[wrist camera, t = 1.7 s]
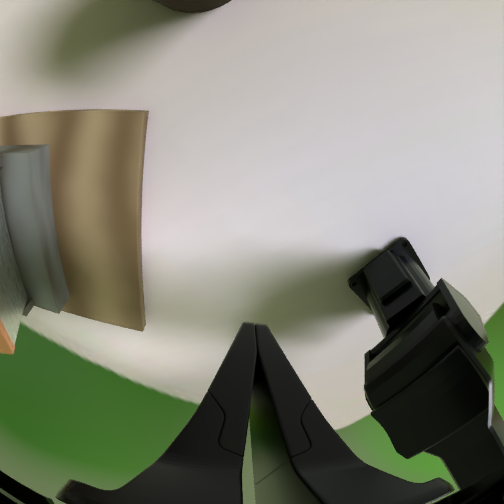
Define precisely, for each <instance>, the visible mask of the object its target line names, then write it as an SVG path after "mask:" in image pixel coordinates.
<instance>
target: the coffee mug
mask: <svg viewBox="0 0 504 504" xmlns="http://www.w3.org/2000/svg"><path fill="white" fill-rule="evenodd" d="M153 1H155V2H158V3H160V4H162V5H164V6H166V7H168V8H171V9H173V10H176V11H181V12H191V13H193V12H203V11H208V10H212V9H215V8H217V7H220V6H222V5H224V4H226V3H228V2H230V1H231V0H153Z"/></svg>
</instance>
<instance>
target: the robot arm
mask: <svg viewBox="0 0 504 504" xmlns="http://www.w3.org/2000/svg"><path fill="white" fill-rule="evenodd" d="M404 242H405V244H404V245H402V244H403V243H404ZM355 281H356V282H355ZM353 282H355V283H353ZM348 284H349V286H350V288H351V289H352V290H353V291H354V292H355V293H356V294H357V295H358V296H359V297H360V298H361V299H362V300H363V302H364V303H365V304H366V305H367V306H368V307H369V308H370V309H371V310H372V312H373V314H374V316H375V318H376V321H377V323H378V325H379V328H380V330H381V332H382V335H383V337H384V339H383V340H382V341H381V342H380V343H378V344H377V345H376V346H375V347H374V348H373V349H372V350H369V351H368V352H367V353H365V384H364V391H365V397H366V401H367V402H368V405H369V406H370V408H371V410H372V412H371V416H372V417H373V418H374V419H376V420H377V421H378V422H379V423H380V424H381V426H382V427H383V428H384V430H385V431H386V432H387V434H388V436H389V437H390V440H391V442H392V444H393V446H394V448H395V450H396V452H397V453H399V454H400V455H402V456H403V457H405V458H406V459H410V458H412V457H414V456H415V455H417V454H419V453H421V452H425V453H428V454H431V455H434V456H437V457H439V458H440V459H441V460H442V462H443V463H444V465H445V466H446V468H447V470H448V471H449V473H450V475H451V476H452V478H453V480H454V481H455V483H456V485H457V487H458V488H459V491H457V492H455V493H453V494H451V495H449V496H447V497H445V498H443V499H440V500H438V501H436V502H434V503H432V501H435V500H437V499H439V498H441V497H443V496H445V495H447V494H449V493H451V492H452V491H454V488H453V486H452V485H451V484H450V483H449V482H447V481H445V480H443V479H441V478H436V479H433V480H431V481H428V482H425V483H413V482H409V481H406V480H404V479H401V478H398V477H396V476H393V475H391V474H388V473H386V472H383V471H381V470H379V469H377V468H374V467H372V466H370V465H368V464H366V463H364V462H363V461H362V460H360V459H359V458H358V457H357V456H356V455H355V454H354V453H353V452H352V451H351V450H350V448H349V447H348V446H347V445H346V444H345V442H344V441H343V440H342V439H341V438H340V437H339V435H338V434H337V433H336V432H335V431H334V429H333V428H332V427H331V426H330V424H329V423H328V422H327V420H326V419H325V418H324V416H323V415H322V413H321V412H320V410H319V409H318V407H317V406H316V404H315V403H314V401H313V400H311V396H310V395H309V393H308V392H307V390H306V388H305V387H304V385H303V384H302V382H301V380H300V379H299V377H298V376H297V374H296V372H295V371H294V369H293V367H292V366H291V364H290V363H289V361H288V359H287V358H286V356H285V354H284V353H283V351H282V349H281V348H280V346H279V344H278V343H277V341H276V339H275V338H274V336H273V334H272V333H271V331H270V329H269V328H268V326H267V325H264V324H254V323H248V322H243V323H242V325H241V327H240V329H239V331H238V333H237V335H236V337H235V339H234V341H233V343H232V345H231V347H230V349H229V351H228V353H227V355H226V357H225V358H224V360H223V362H222V364H221V366H220V368H219V370H218V372H217V374H216V376H215V378H214V380H213V381H212V383H211V385H210V387H209V389H208V392H207V393H206V394H205V396H204V398H203V400H202V402H201V404H200V405H199V407H198V409H197V411H196V412H195V414H194V415H193V416H192V418H191V419H190V421H189V422H188V423H187V425H186V426H185V427H184V428H183V430H182V431H181V432H180V433H179V435H178V436H177V437H176V439H175V440H174V441H173V442H172V444H171V445H170V446H169V447H168V448H167V450H166V451H165V452H164V453H163V454H162V455H161V456H160V457H159V458H158V459H157V460H156V461H155V462H154V463H153V464H152V465H150V466H149V467H148V468H146V469H145V470H144V471H143V472H141V473H140V474H139V475H137V476H136V477H135V478H133V479H132V480H131V481H129V482H128V483H127V484H125V485H124V486H122V487H120V488H118V489H116V490H102V489H99V488H96V487H93V486H90V485H87V484H85V483H82V482H79V481H76V480H72V479H69V480H68V481H67V482H66V483H65V484H64V486H63V487H62V488H61V489H60V490H59V491H58V493H57V495H56V498H57V499H58V500H60V501H62V502H64V503H66V504H243V493H242V466H243V457H244V450H245V444H246V436H247V429H248V421H250V435H251V448H252V462H253V474H254V484H255V486H254V488H255V500H256V504H504V421H503V419H502V417H501V416H500V414H499V412H498V410H497V408H496V407H495V405H494V361H493V359H492V357H491V356H490V354H489V353H488V351H487V349H486V348H485V346H486V345H487V344H488V343H489V341H488V337H487V334H486V332H485V328H484V326H483V323H482V320H481V317H480V315H479V314H478V313H477V311H476V310H475V309H474V307H473V306H472V305H471V304H470V302H469V301H468V300H467V299H466V297H464V296H463V295H462V294H461V293H460V292H458V291H457V290H456V289H455V288H454V287H452V286H451V285H450V284H449V283H447V282H446V281H445V280H444V279H443V278H441V279H440V280H439V281H438V282H437V285H436V286H435V287H434V286H433V284H432V283H431V281H430V277H429V275H428V273H427V272H426V270H425V268H424V266H423V264H422V263H421V261H420V259H419V257H418V256H417V254H416V252H415V251H414V249H413V247H412V246H411V244H410V242H409V241H408V240H407V239H406V238H405V237H403V238H401V239H399V240H398V241H397V242H396V243H394V244H393V245H392V246H391V247H390V248H388V249H387V250H386V251H385V252H383V253H382V254H381V255H379V256H378V257H377V258H376V259H374V260H373V261H372V262H370V263H369V264H368V265H367V266H365V267H364V268H363V269H361V270H360V271H359V272H357V273H356V274H355V275H353V276H352V277H351V278H350V279H349V280H348ZM0 504H54V502H53V501H52V499H50V498H48V497H46V496H44V495H42V494H40V493H39V492H37V491H35V490H33V489H31V488H29V487H28V486H26V485H24V484H22V483H21V482H19V481H18V480H16V479H14V478H13V477H11V476H10V475H8V474H7V473H5V472H3V471H2V470H1V469H0Z"/></svg>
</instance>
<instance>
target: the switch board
mask: <svg viewBox="0 0 504 504" xmlns="http://www.w3.org/2000/svg"><path fill="white" fill-rule="evenodd" d="M148 112H149V111H141V110H109V109H93V110H63V111H48V112H36V113H26V114H18V115H11V116H4V117H0V187H1V194H2V201H3V207H4V213H5V218H6V223H7V228H8V232H9V237H10V241H11V245H12V249H13V253H14V257H15V260H16V264H17V267H18V270H19V274H20V277H21V280H22V283H23V286H24V289H25V292H26V294H27V299H28V301H27V303H26V304H25V307H24V310H23V314H22V315H24V316H27V315H28V313H29V312H30V310H31V309H32V307H33V306H37V307H40V308H43V309H46V310H49V311H52V312H55V313H58V314H59V313H60V311H65V312H68V313H71V314H75V315H78V316H82V317H86V318H89V319H93V320H97V321H100V322H104V323H108V324H112V325H116V326H121V327H125V328H129V329H134V330H138V331H143V330H144V327H145V325H146V324H145V312H144V299H143V281H142V254H141V208H142V181H143V164H144V151H145V139H146V129H147V120H148Z"/></svg>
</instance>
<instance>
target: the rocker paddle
mask: <svg viewBox="0 0 504 504" xmlns="http://www.w3.org/2000/svg"><path fill="white" fill-rule="evenodd" d="M27 301H28V299H27V294H26V292H25V289H24V286H23V283H22V280H21V277H20V274H19V270H18V267H17V264H16V260H15V257H14V253H13V249H12V245H11V241H10V237H9V232H8V228H7V223H6V218H5V213H4V207H3V201H2V194H1V187H0V352H1V353H4V354H14V349H15V346H14V345H15V341H16V336H17V332H18V328H19V325H20V321H21V317H22V314H23V310H24V307H25V304H26V303H27Z"/></svg>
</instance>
